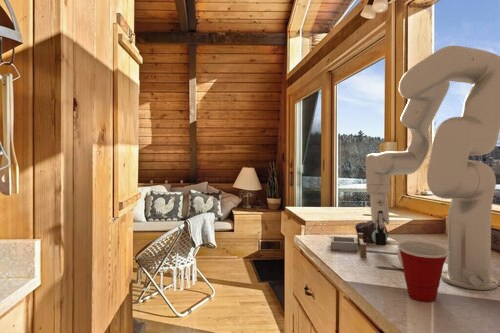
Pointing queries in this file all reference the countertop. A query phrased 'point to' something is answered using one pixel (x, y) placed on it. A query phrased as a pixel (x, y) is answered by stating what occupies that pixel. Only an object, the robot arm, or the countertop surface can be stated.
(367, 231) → the rock
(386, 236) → the ball
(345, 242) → the dish
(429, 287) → the plastic cup
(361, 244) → the rail
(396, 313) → the countertop surface
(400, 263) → the teacup
